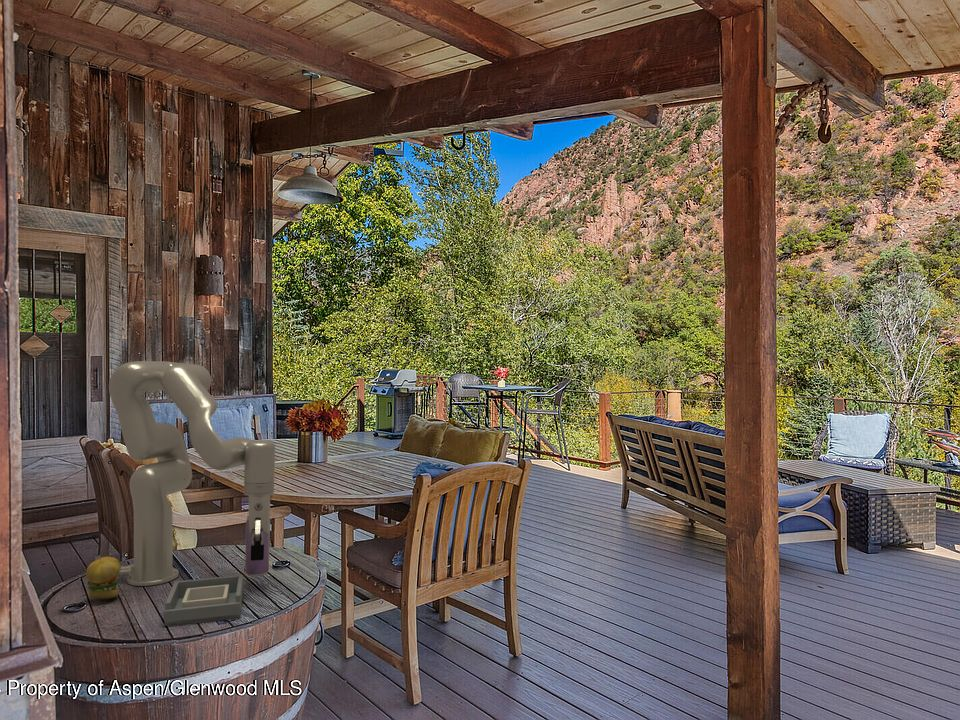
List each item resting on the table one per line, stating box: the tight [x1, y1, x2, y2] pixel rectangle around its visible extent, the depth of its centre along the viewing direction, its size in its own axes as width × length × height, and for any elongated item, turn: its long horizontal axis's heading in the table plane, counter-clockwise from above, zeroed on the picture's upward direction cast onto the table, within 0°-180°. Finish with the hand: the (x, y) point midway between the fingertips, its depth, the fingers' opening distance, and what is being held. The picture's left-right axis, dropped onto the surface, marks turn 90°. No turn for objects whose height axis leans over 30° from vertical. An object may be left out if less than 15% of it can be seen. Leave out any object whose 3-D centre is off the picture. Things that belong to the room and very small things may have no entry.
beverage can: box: [244, 515, 271, 577], centre depth 168 cm, size 6×6×15 cm
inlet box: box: [163, 574, 244, 627], centre depth 154 cm, size 16×16×5 cm
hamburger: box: [85, 555, 122, 600], centre depth 160 cm, size 8×7×12 cm
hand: (257, 555), depth 168 cm, fingers closed on beverage can, 5 cm apart
